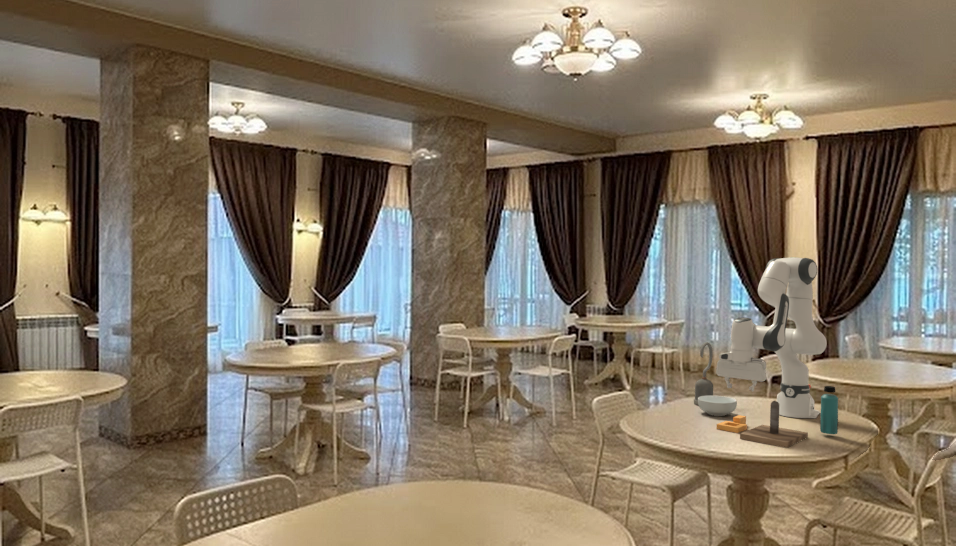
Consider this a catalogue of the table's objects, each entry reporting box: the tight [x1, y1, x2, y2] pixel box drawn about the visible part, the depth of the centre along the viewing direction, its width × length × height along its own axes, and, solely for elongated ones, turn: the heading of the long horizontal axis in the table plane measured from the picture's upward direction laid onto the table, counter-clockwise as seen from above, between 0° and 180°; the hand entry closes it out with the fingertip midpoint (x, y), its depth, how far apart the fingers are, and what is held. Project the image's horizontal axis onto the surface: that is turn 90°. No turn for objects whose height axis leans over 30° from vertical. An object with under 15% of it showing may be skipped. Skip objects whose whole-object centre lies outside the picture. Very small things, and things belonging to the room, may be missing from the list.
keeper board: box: [739, 400, 809, 448], centre depth 282 cm, size 22×18×15 cm
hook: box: [693, 341, 714, 406], centre depth 346 cm, size 10×12×30 cm
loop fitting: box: [716, 414, 748, 434], centre depth 298 cm, size 15×9×4 cm, turn 137°
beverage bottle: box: [819, 385, 839, 435], centre depth 287 cm, size 6×7×20 cm
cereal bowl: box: [697, 395, 738, 417], centre depth 324 cm, size 17×17×7 cm
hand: (740, 389), depth 301 cm, fingers open, 8 cm apart
